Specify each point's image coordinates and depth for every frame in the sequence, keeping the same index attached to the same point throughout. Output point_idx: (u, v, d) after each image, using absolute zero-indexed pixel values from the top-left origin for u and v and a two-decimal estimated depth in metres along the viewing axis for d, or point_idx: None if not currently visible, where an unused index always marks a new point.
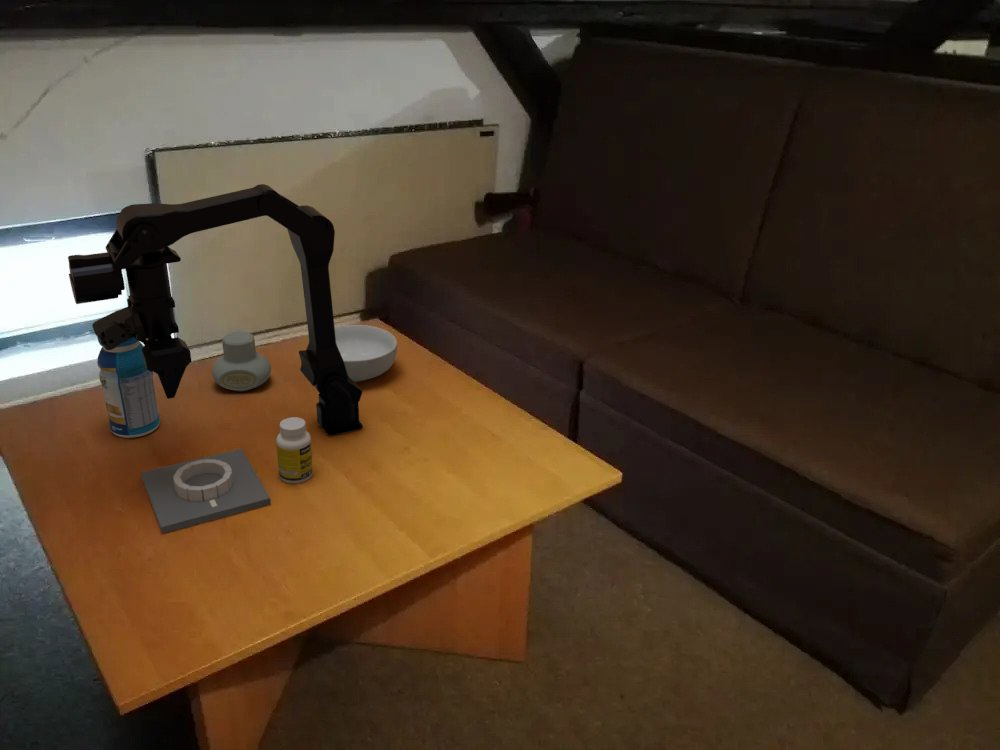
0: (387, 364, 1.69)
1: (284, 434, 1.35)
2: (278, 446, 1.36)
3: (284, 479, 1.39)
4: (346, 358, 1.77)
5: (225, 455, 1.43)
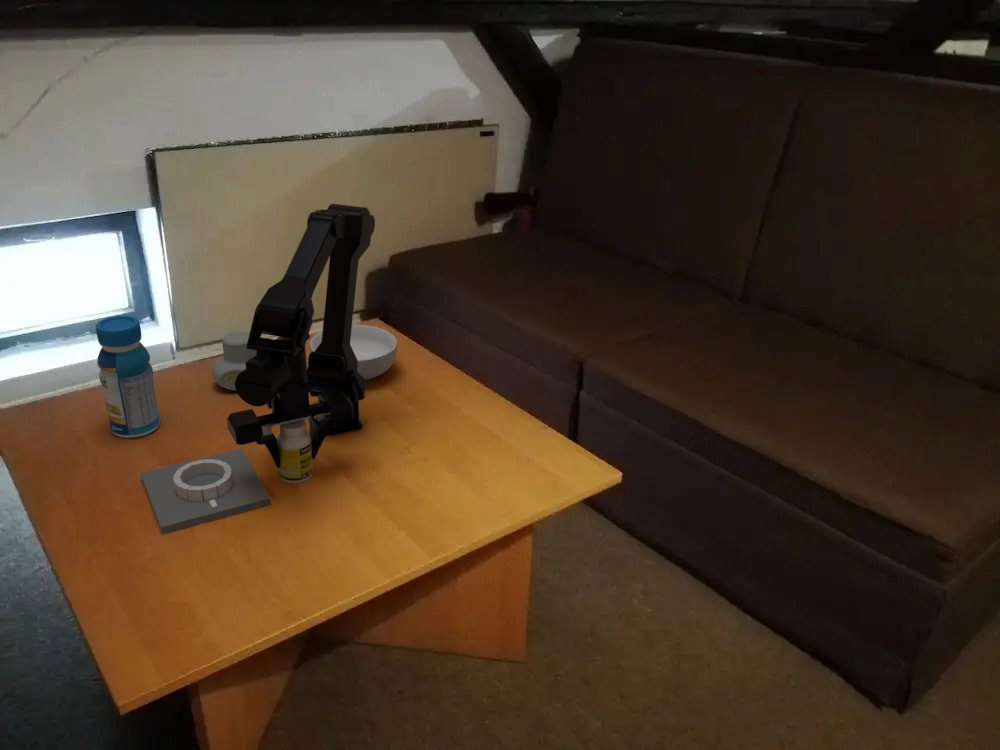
0: (387, 364, 1.69)
1: (284, 434, 1.35)
2: (278, 446, 1.36)
3: (284, 479, 1.39)
4: None
5: (225, 455, 1.43)
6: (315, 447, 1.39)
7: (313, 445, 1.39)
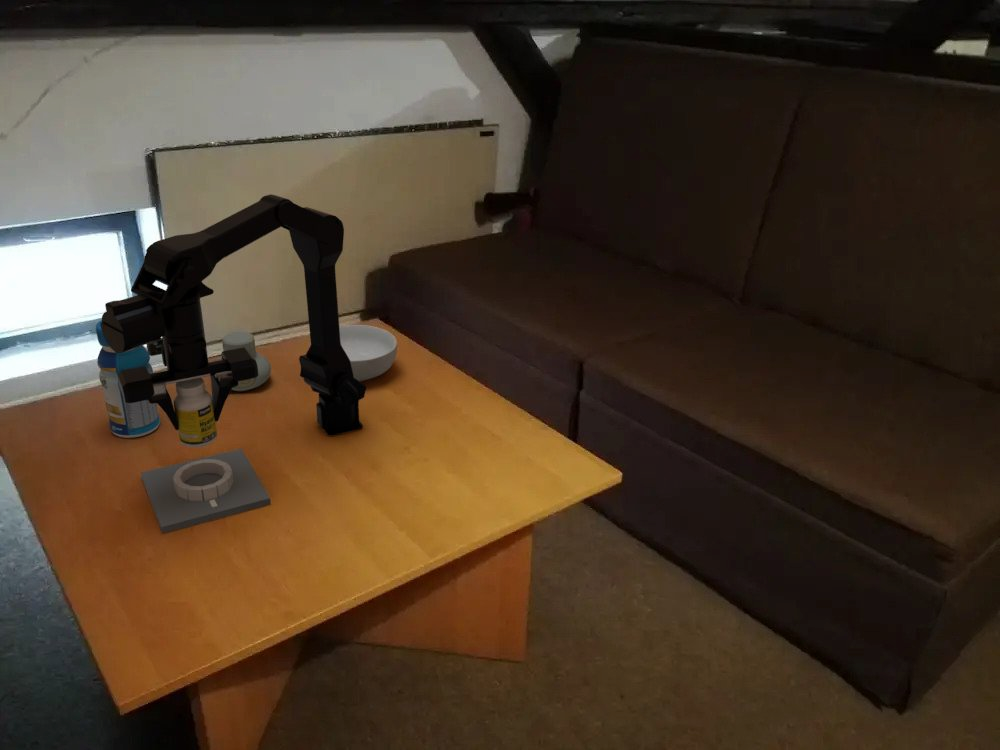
0: (387, 364, 1.69)
1: (180, 394, 1.26)
2: (175, 407, 1.27)
3: (184, 443, 1.29)
4: None
5: (225, 455, 1.43)
6: (217, 408, 1.30)
7: (215, 406, 1.30)
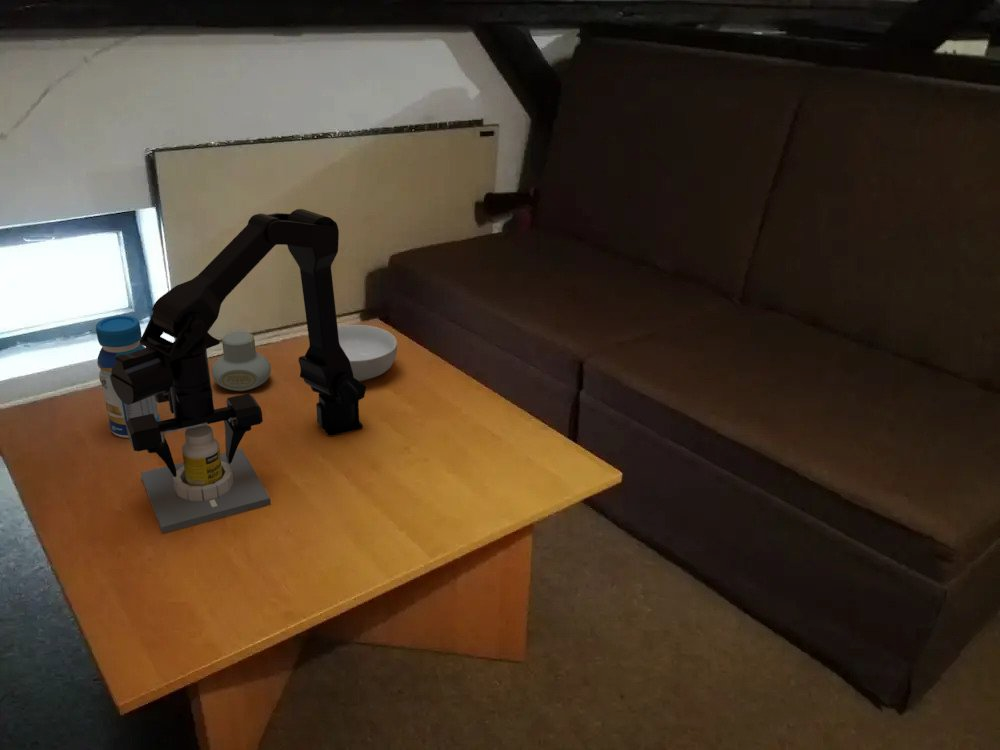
0: (387, 364, 1.69)
1: (189, 442, 1.30)
2: (183, 455, 1.31)
3: None
4: None
5: (225, 455, 1.43)
6: (230, 451, 1.34)
7: (228, 449, 1.34)
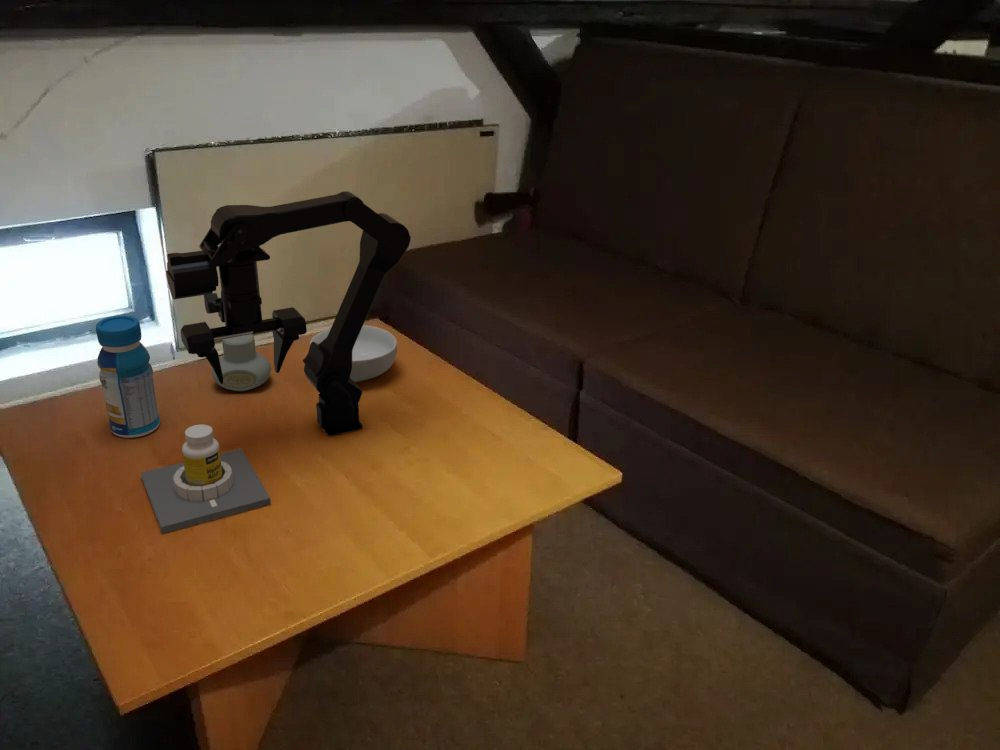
0: (387, 364, 1.69)
1: (189, 442, 1.30)
2: (183, 455, 1.31)
3: None
4: None
5: (225, 455, 1.43)
6: (279, 360, 1.43)
7: (277, 358, 1.43)
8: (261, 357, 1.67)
